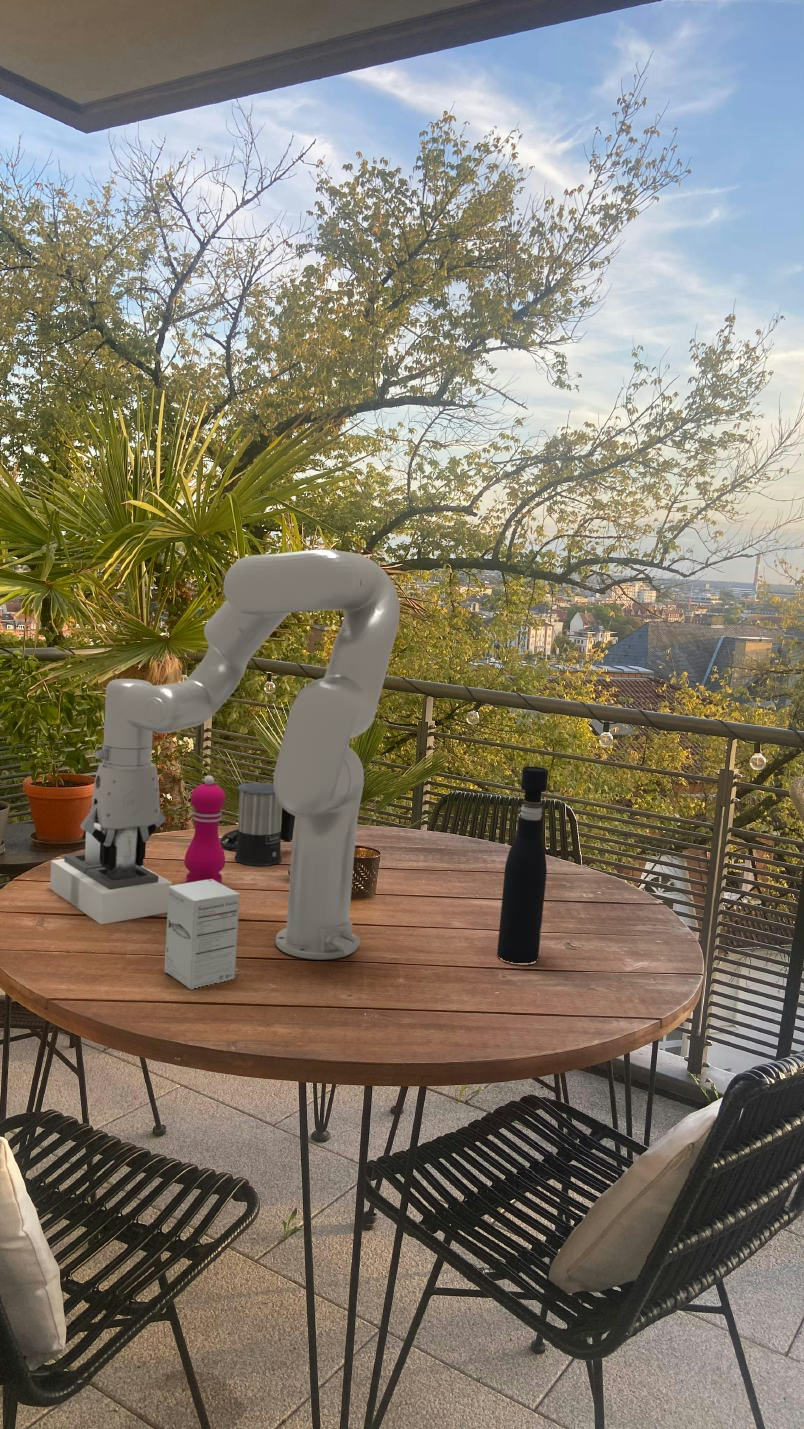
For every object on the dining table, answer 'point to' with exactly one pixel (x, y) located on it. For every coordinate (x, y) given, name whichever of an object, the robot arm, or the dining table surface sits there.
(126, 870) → the peg
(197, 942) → the supplement box
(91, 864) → the socket block
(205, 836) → the pepper mill
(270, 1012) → the dining table surface
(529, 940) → the dark water bottle
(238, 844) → the milk frother
